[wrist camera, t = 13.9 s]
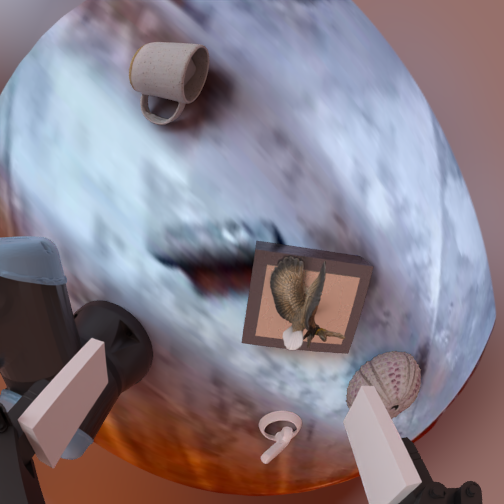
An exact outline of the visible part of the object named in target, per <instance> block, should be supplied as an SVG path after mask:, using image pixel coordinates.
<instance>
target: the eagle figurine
mask: <svg viewBox="0 0 504 504" xmlns="http://www.w3.org/2000/svg"><path fill="white" fill-rule="evenodd" d="M303 264H304V263H303V261H299V259H298V258H296V259H294V258H293V257H291V256H290V257H289V258H287V257H286V258H284V260H283V262H282V261H281V262H279V264H278V268H275V269H274V272H273V273H272V275H271V281H270V284H271V285H270V288H271V292H272V296H273V297H274V298H273V299H274V303H275V307H276V310H277V312H278V313H279V315H280V317H282V318H283V319H285V320H287V321H289V323H292V326H290V327H289V328H288V329H287V330H285V331H284V332H283V340H284V345H285V346H286V348H287V349H288V350H290V351H292V350H296V349H299V348H300V347H301V346H302V344H303V340H304V339H305V338H307V348H310V343H311V341H312V339H313V338H314V336H315V335H318V336H319V337H320V339H321V340H322V341H323V342H326V340H327V336H328V337H338V338H340V339H345V338H346V337H345V336H344V335H342V334H341V333H336V332H332V331H328V330H326V329H323V328H320V327H319V325H317V324H316V323H315V320H314V317H315V314H316V312H317V309H318V305H319V303H320V300H321V295H322V291H323V286H324V282H325V276H326V261H324V262H323V265H322V268H321V271H320V273H319V275H318V277H317V278H316V279H315V281H314V282H313V283H312V284H311V286H310V287H309V290H308V292H307V295H306V298H305V296H304V294H303V287H302V275H303V268H304V265H303ZM304 329H306V330H308V331H307V332H306V334H305V335H304V336H303V331H304Z"/></svg>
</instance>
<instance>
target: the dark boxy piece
mask: <svg viewBox="0 0 504 504" xmlns="http://www.w3.org/2000/svg"><path fill="white" fill-rule="evenodd" d="M290 256H291V257H293V258H294V259H296V258H298V259H299V261H303V263H304V264H303V265H304V268H303V275H302V287H303V294H304V296H305V298H306V295H307V292H308V290H309V287H310V286H311V284H312V283H313V282H314V281H315V279H316V278H317V277H318V275H319V273H320V271H321V268H322V265H323V262H324V261H326V276H325V282H324V286H323V291H322V295H321V300H320V303H319V305H318V309H317V312H316V314H315V317H314V320H315V323H316V324H317V325H319V327H320V328H323V329H326V330H328V331H332V332H336V333H341V334H342V335H344V336H345V337H346V338H345V339H340V338H338V337H328V336H327V340H326V342H323V341H322V340H321V339H320V337H319V336H318V335H315V336H314V338H313V339H312V341H311V343H310V348H307V338H305V339H304V340H303V344H302V346H301V347H300V348H299V349H296V350H306V351H318V352H332V353H348V352H349V349H350V347H351V344H352V340H353V337H354V334H355V331H356V328H357V325H358V321H359V318H360V315H361V311H362V308H363V304H364V301H365V297H366V294H367V290H368V286H369V282H370V278H371V274H372V270H373V266H372V265H371V264H369V263H368V262H367V261H365V260H364V259H363V258H362V257H360V256H355V255H348V254H342V253H335V252H329V251H322V250H316V249H309V248H303V247H296V246H289V245H283V244H276V243H269V242H262V241H256V248H255V256H254V263H253V270H252V277H251V284H250V290H249V297H248V304H247V310H246V317H245V322H244V329H243V337H242V343H246V344H253V345H260V346H268V347H277V348H286V346H285V345H284V340H283V332H284V331H285V330H287V329H288V328H289V327H290V326H292V323H289V321H287V320H285V319H283V318H282V317H280V315H279V313H278V312H277V310H276V307H275V303H274V299H273V298H274V297H273V296H272V292H271V288H270V285H271V284H270V281H271V275H272V273H273V272H274V269H275V268H278V264H279V262H281V261H282V262H283V260H284V258H286V257H287V258H289V257H290ZM307 331H308V330H306V329H304V331H303V336H304V335H305V334H306V332H307ZM286 349H287V348H286Z"/></svg>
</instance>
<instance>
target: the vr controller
mask: <svg viewBox="0 0 504 504" xmlns="http://www.w3.org/2000/svg"><path fill="white" fill-rule="evenodd" d="M275 421H289V422H292V423H293V424H295V426H296V428H297V429H296V430H295V431H294V432H293V430H292V428H290V427H283V429H282V431H281V432H277V434H276V435H275V436H273V435H270V434H267V433H265V431H264V430H265V428H266V426H267V425H268V424H270V423H272V422H275ZM301 425H302V421H301V419H300V417H299V416H298V415H297V414H295V413H292V412H289V411H276V412H272V413H269V414H267V415H265V416H264V417H263V418H262V419H261V420H260V422H259V429H260V431H261V432H262V434H263V435H264V436H265V437H266V438H268V439H270V440H274V441H276V443H275V444H274V445H273V446H271V447H270V448H269V449H268V450H267V451H265V452H264V453H263V454H262V456H261V461H262V462H263V463H265V464H267V463H269V462H270V461H271V460H272V459H273V458H274V457H276V456H277V455H278V454H279V453H280V452H281V451H282V450H283V449H284V448H285V447H286V446H287V445H288V444H289V442H290V440H291V438H293V437H294V436H295V435H296V434H297V433H298V432H299V430H300V428H301Z"/></svg>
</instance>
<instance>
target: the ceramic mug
mask: <svg viewBox="0 0 504 504" xmlns="http://www.w3.org/2000/svg"><path fill="white" fill-rule="evenodd" d="M208 69H209V53H208V50H207V48H206V47H205V46H203V45H199V44H186V43H167V42H154V43H148V44H145V45H143V46H142V47H141V48H140V49H138V50H137V52H136V53H135V55H134V57H133V58H132V61H131V64H130V68H129V79H130V84H131V85H132V87H133V89H134V90H136V91H138V92H140V93H141V94H142V96H141V104H140V105H141V111H142V113H143V115H144V116H145V117H146V119H147V120H149V121H150V122H152V123H155V124H158V125H165V124H168V123H170V122H172V121H174V120H175V119H177V118H178V117H179V116H180V114H181V113H182V111H183V109H184V107H185V104H186V103H187V104H189V103H192V102H193V101H194V100H195V99H196V98H197V97H198V96H199V94H200V92H201V90H202V88H203V86H204V83H205V81H206V78H207V74H208ZM149 95H150V96H157V97H161V98H165V99H169V100H173V101H178V102H179V106H178V108H177V110H176V112H175V113H174V115H173V116H172V117H170V118H169V119H164V118H161V117H158V116H156V115H155V114H152V113H151V112H150V110H149V107H148V96H149Z"/></svg>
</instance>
